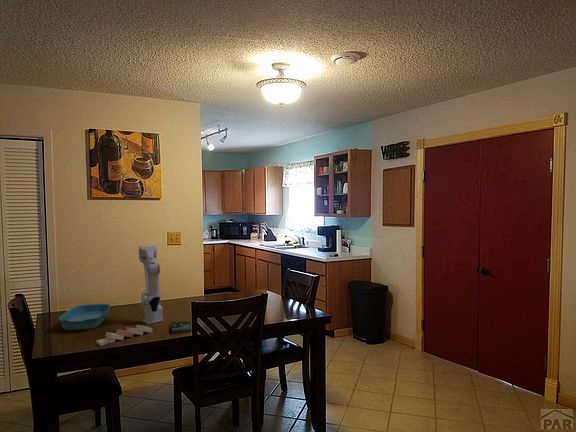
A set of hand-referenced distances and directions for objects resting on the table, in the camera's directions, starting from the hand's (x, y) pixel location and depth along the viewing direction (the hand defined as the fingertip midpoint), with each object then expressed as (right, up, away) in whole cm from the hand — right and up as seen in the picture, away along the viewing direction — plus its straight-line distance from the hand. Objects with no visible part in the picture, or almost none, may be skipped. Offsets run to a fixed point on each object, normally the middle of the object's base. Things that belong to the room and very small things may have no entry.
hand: (154, 311), depth 224 cm
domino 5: (-1, -9, -5) cm, 10 cm away
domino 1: (-15, -10, -19) cm, 26 cm away
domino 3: (-8, -9, -12) cm, 17 cm away
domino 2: (-12, -9, -16) cm, 22 cm away
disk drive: (+15, -10, -1) cm, 18 cm away
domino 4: (-4, -9, -9) cm, 13 cm away
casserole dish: (-43, -10, +14) cm, 46 cm away
